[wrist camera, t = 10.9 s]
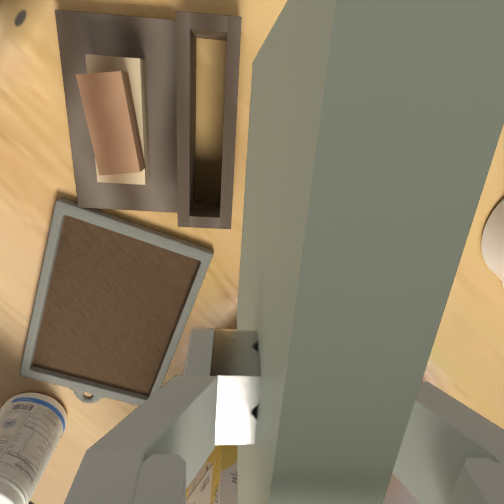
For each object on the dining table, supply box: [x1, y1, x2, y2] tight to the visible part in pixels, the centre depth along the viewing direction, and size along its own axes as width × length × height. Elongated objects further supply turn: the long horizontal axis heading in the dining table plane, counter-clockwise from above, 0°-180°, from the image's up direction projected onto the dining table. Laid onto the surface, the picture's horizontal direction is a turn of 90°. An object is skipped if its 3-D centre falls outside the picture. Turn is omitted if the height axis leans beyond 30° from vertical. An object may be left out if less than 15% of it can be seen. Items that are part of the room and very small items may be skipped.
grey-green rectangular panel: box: [237, 0, 504, 504], centre depth 13 cm, size 2×14×16 cm, turn 176°
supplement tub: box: [0, 392, 67, 504], centre depth 49 cm, size 10×10×15 cm
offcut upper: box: [76, 71, 146, 176], centre depth 36 cm, size 4×9×2 cm, turn 4°
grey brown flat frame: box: [20, 198, 214, 406], centre depth 50 cm, size 19×2×30 cm
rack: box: [55, 10, 241, 229], centre depth 38 cm, size 18×19×6 cm
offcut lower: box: [85, 54, 150, 185], centre depth 38 cm, size 5×12×2 cm, turn 176°
